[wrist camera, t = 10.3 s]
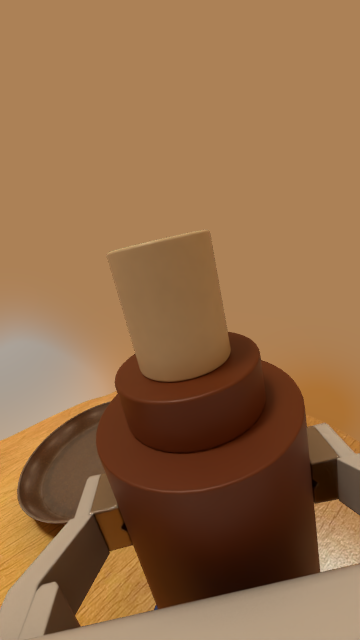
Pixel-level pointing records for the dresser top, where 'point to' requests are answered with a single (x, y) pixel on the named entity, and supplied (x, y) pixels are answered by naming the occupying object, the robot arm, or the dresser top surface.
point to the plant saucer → (61, 469)
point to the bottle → (203, 435)
